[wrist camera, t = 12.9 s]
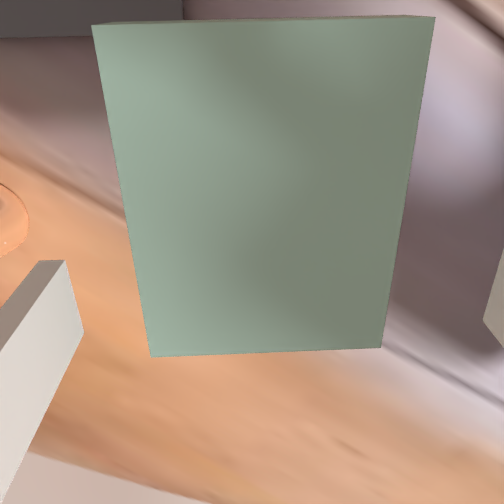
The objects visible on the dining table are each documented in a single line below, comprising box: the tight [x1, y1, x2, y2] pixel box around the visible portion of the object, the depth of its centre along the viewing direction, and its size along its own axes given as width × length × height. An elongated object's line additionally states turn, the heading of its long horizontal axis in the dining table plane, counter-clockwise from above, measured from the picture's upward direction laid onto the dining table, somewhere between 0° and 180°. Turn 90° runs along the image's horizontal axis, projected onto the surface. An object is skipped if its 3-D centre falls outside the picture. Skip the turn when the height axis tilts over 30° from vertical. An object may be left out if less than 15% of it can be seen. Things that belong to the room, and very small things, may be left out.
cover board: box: [91, 15, 436, 357], centre depth 19 cm, size 11×14×3 cm
